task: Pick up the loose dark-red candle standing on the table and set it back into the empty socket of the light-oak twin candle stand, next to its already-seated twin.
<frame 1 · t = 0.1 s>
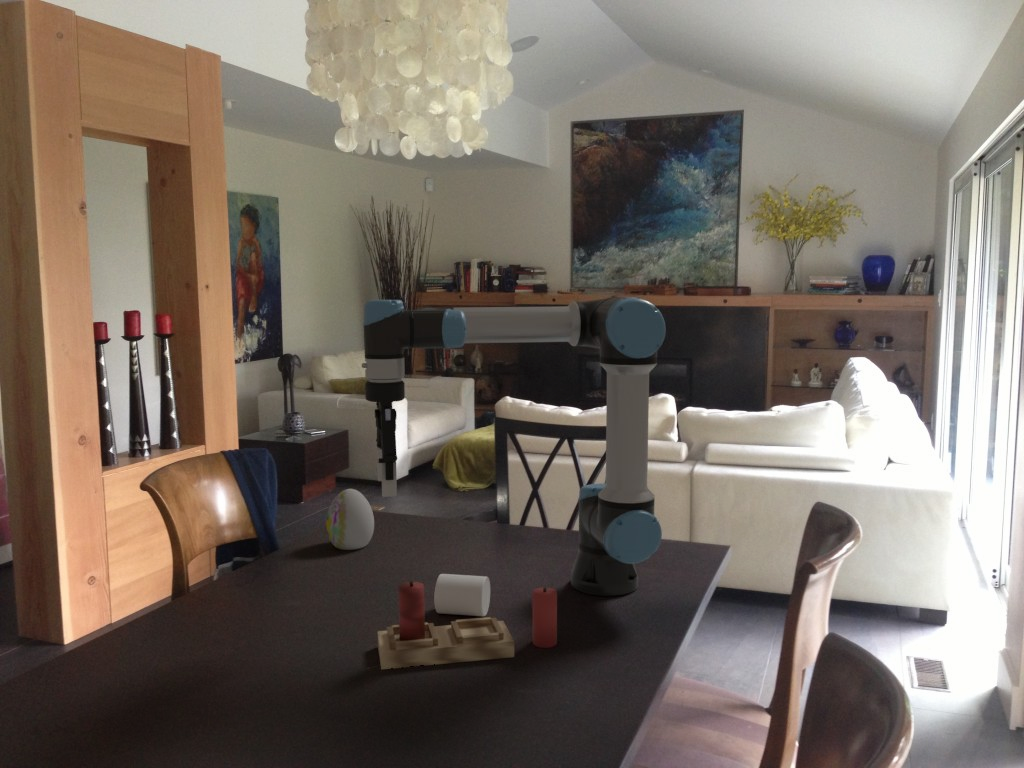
hand: (386, 488, 170), 28 cm above the table, fingers open, 13 cm apart
decorative egg: (350, 546, 226), on the table
mug: (465, 610, 181), on the table
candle: (544, 642, 164), on the table
oak candlestand: (445, 651, 160), on the table
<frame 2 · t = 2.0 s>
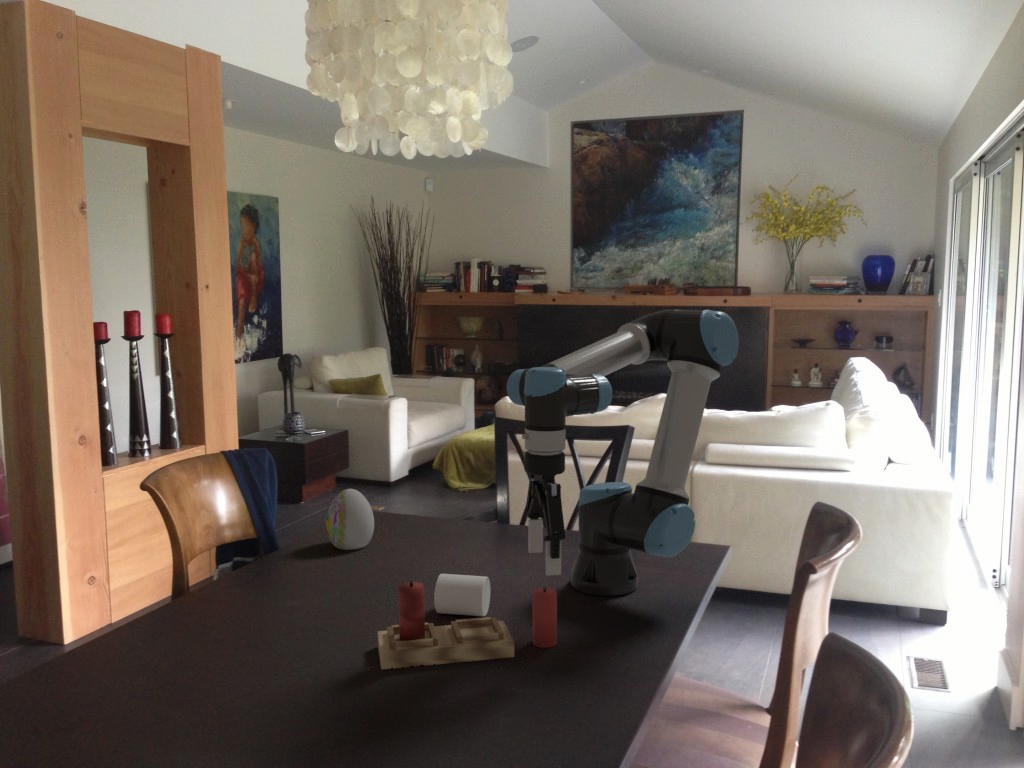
hand: (544, 563, 163), 16 cm above the table, fingers open, 13 cm apart
nothing on the table moved.
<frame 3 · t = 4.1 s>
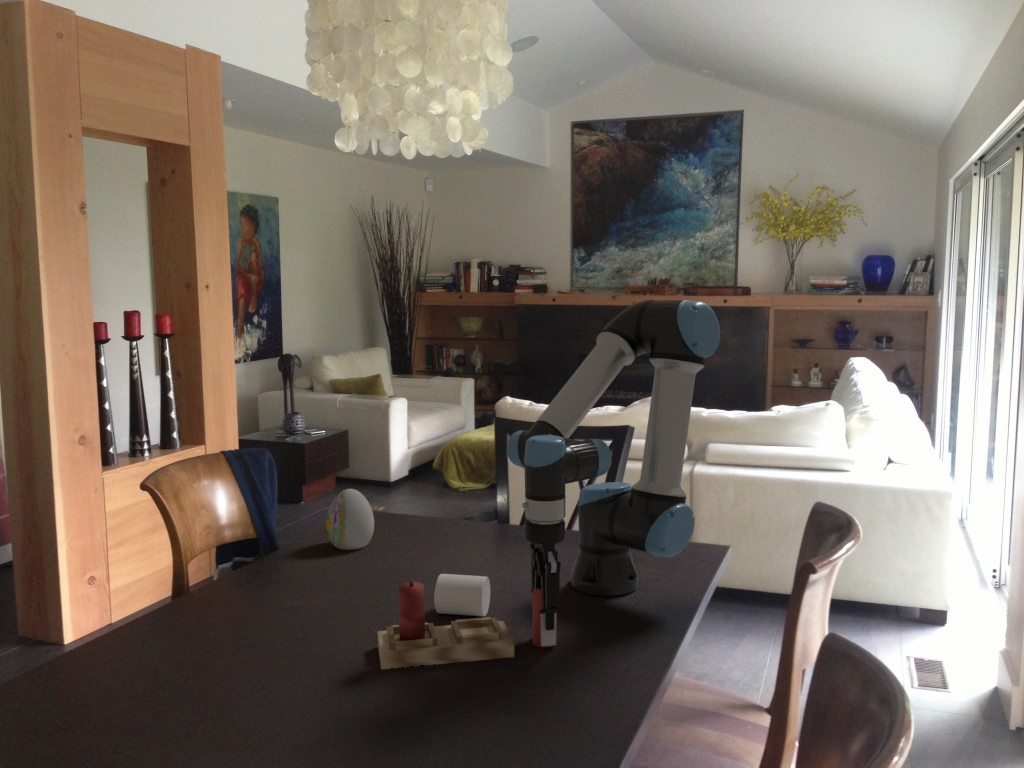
hand: (544, 639, 164), 1 cm above the table, fingers closed on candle, 4 cm apart
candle: (544, 642, 164), on the table, touching gripper
everything else where it was.
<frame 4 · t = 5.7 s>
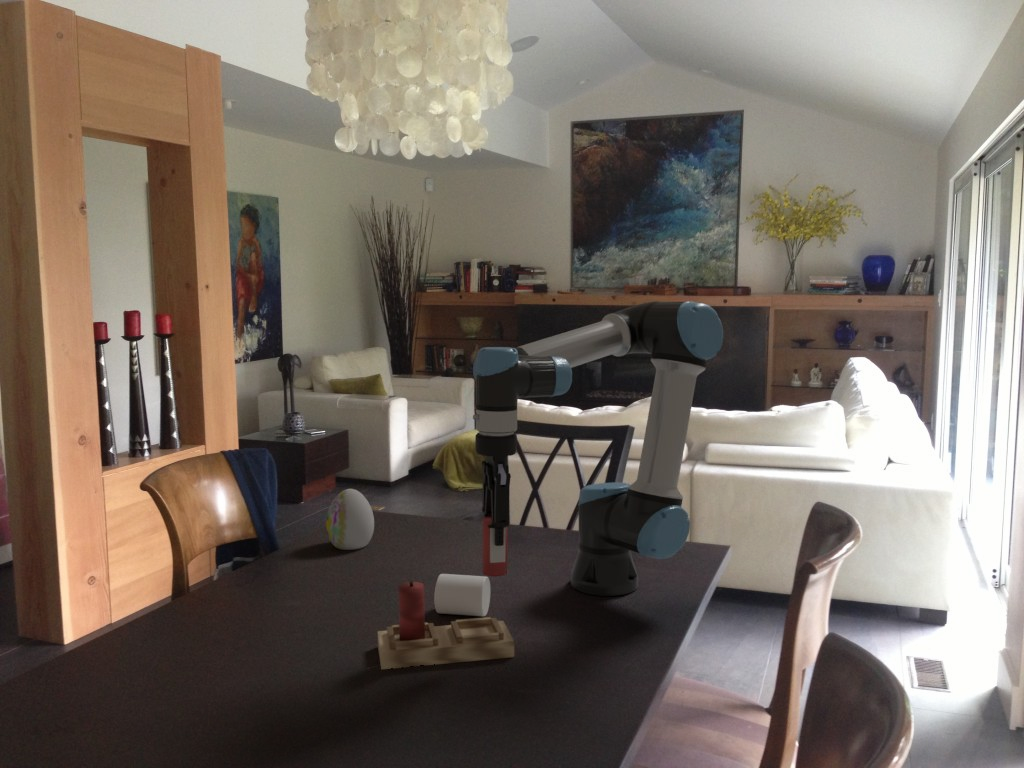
hand: (494, 557, 160), 17 cm above the table, fingers closed on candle, 4 cm apart
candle: (494, 572, 160), point 15 cm above the table, touching gripper
everything else where it was.
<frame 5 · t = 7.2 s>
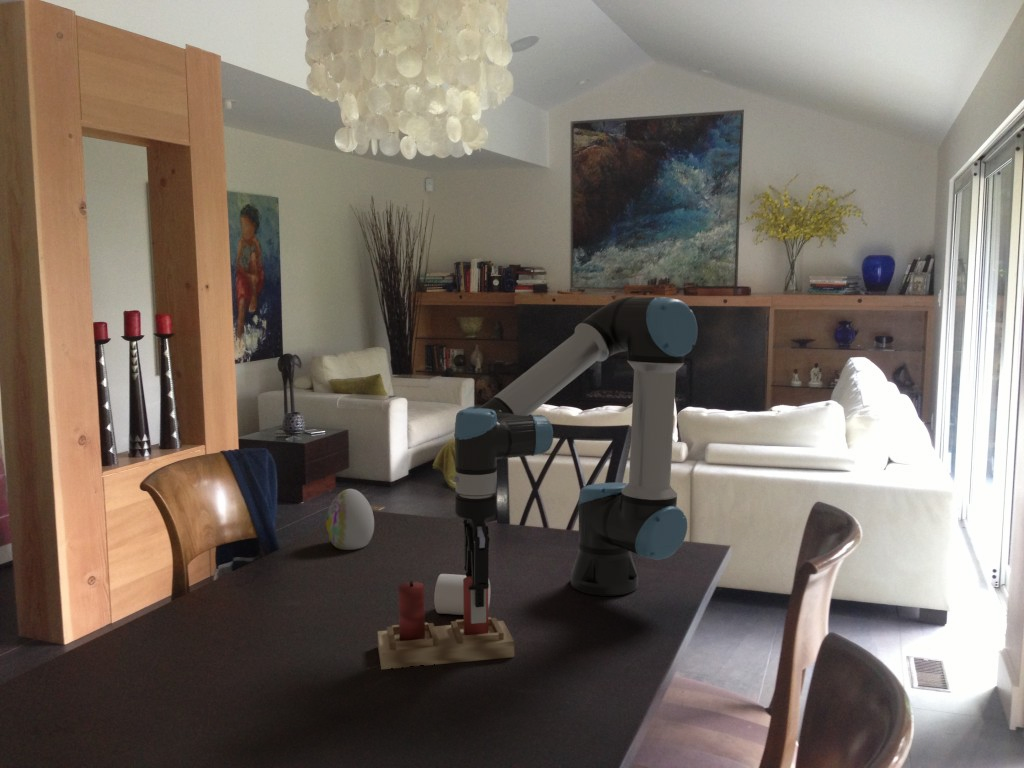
hand: (476, 617, 161), 6 cm above the table, fingers closed on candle, 4 cm apart
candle: (476, 631, 161), point 3 cm above the table, touching gripper
everything else where it was.
when the fingers open (5 cm above the table, at t = 7.6 s): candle stays where it is, resting on oak candlestand.
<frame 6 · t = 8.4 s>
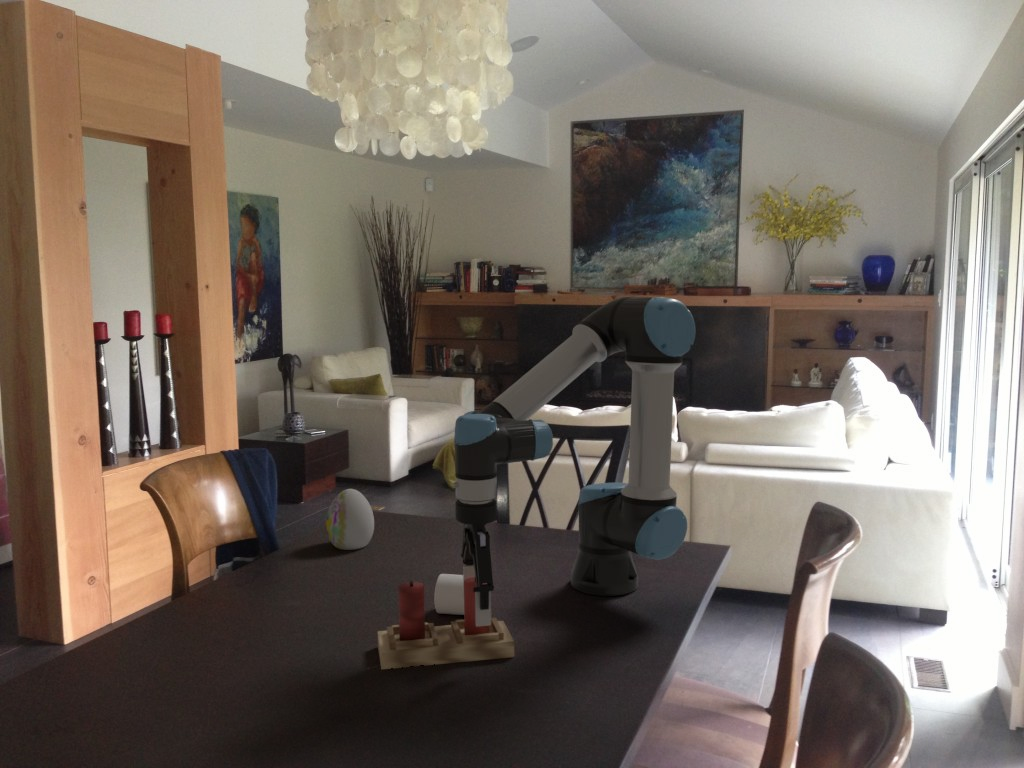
hand: (476, 611, 161), 7 cm above the table, fingers open, 13 cm apart
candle: (476, 633, 161), point 3 cm above the table, touching oak candlestand
everything else where it was.
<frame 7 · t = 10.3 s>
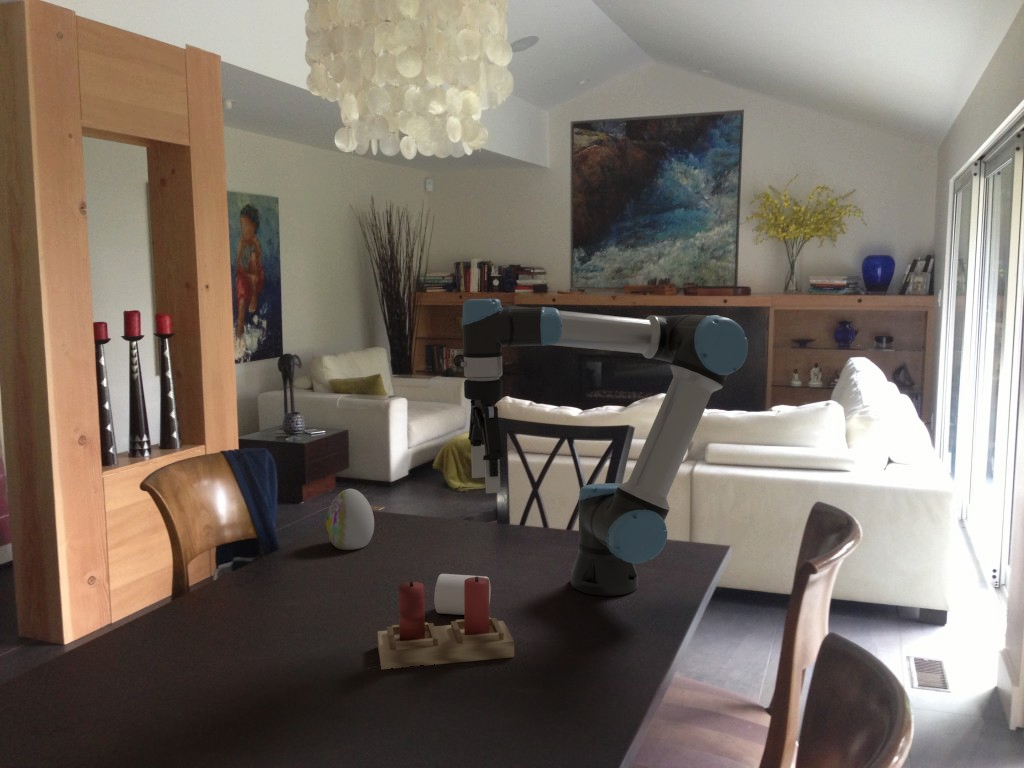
hand: (485, 484, 172), 28 cm above the table, fingers open, 13 cm apart
nothing on the table moved.
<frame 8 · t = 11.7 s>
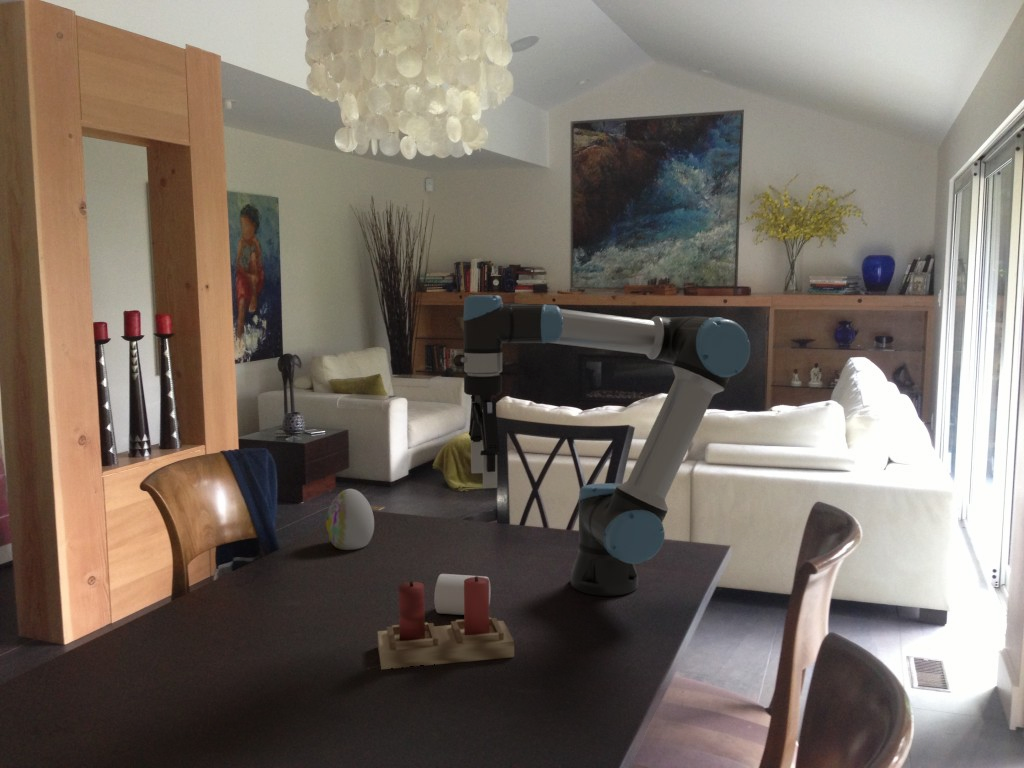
hand: (483, 480, 173), 29 cm above the table, fingers open, 13 cm apart
nothing on the table moved.
at the end: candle 0.0 cm from the target spot on the oak candlestand, point 3.0 cm above the oak candlestand's base; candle tilted 1° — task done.
